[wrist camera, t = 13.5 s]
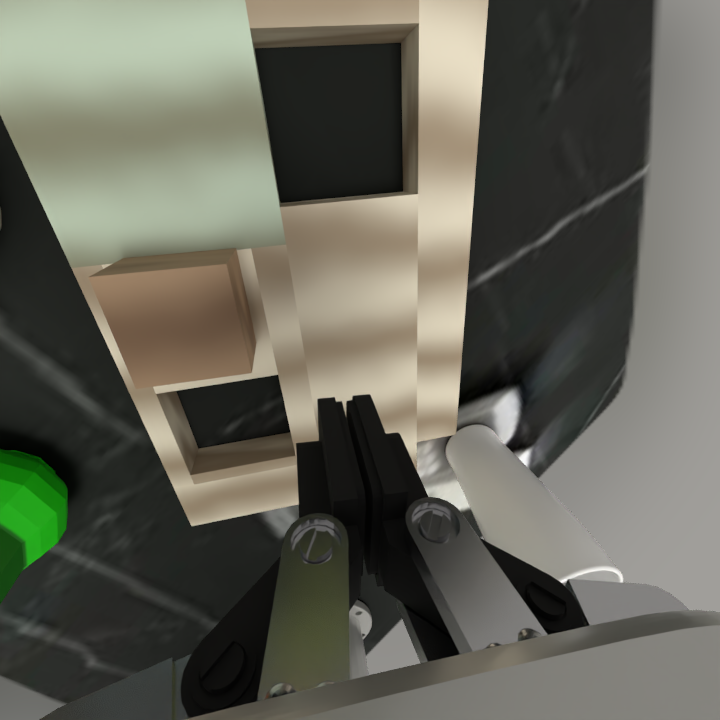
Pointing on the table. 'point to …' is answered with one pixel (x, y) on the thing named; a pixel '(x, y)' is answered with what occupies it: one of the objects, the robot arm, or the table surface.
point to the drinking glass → (523, 510)
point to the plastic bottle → (28, 513)
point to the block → (178, 316)
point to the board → (258, 205)
